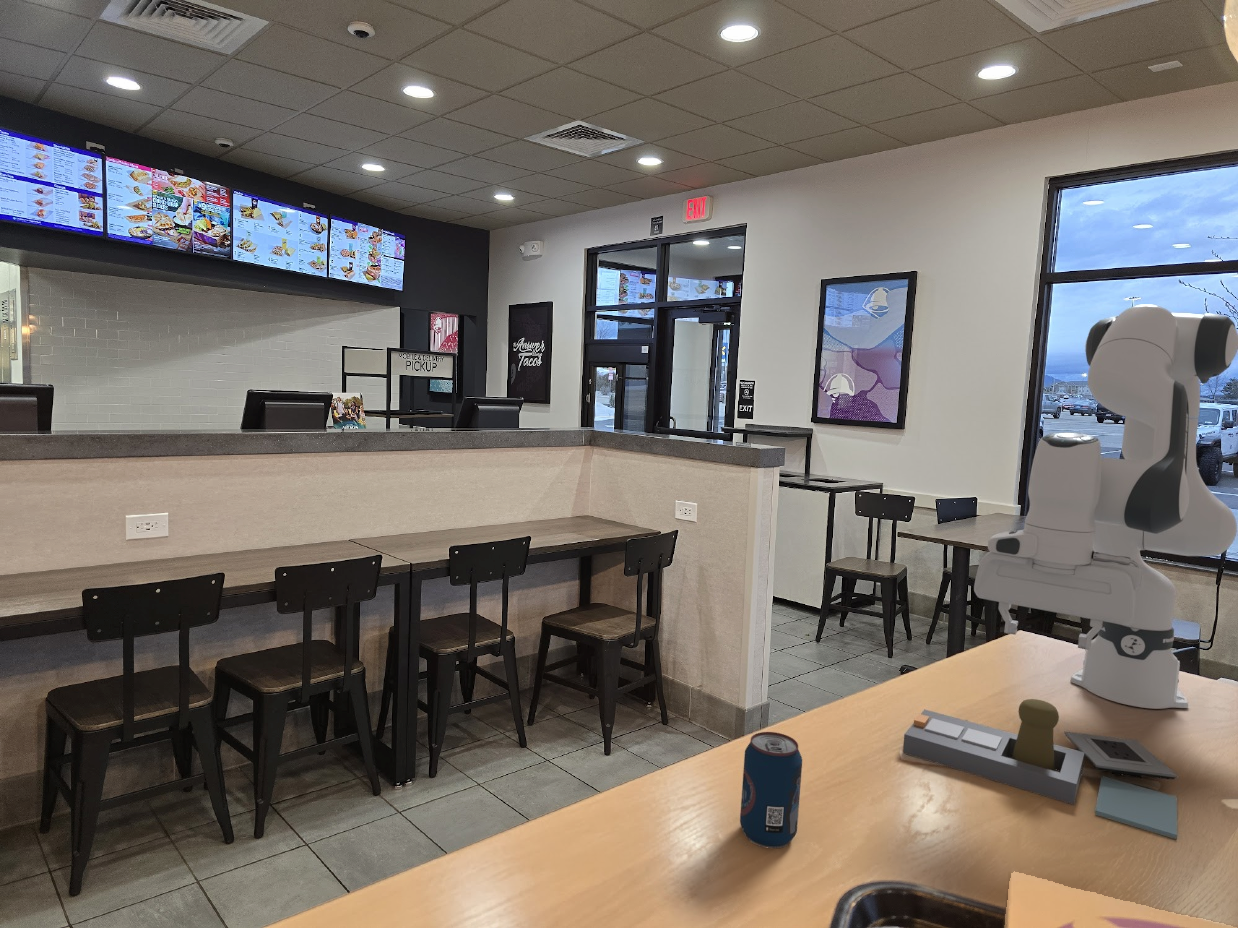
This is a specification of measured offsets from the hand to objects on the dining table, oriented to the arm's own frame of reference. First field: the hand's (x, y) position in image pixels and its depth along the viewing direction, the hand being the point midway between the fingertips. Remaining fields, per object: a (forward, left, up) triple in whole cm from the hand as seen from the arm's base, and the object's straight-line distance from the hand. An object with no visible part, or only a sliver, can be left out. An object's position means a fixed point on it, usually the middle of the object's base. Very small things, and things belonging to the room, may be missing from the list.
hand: (1046, 640), depth 114 cm
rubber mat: (+1, +13, -20) cm, 24 cm away
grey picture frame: (-11, +10, -20) cm, 25 cm away
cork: (0, 0, -21) cm, 21 cm away
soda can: (+40, -24, -21) cm, 51 cm away
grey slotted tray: (0, -5, -20) cm, 21 cm away
